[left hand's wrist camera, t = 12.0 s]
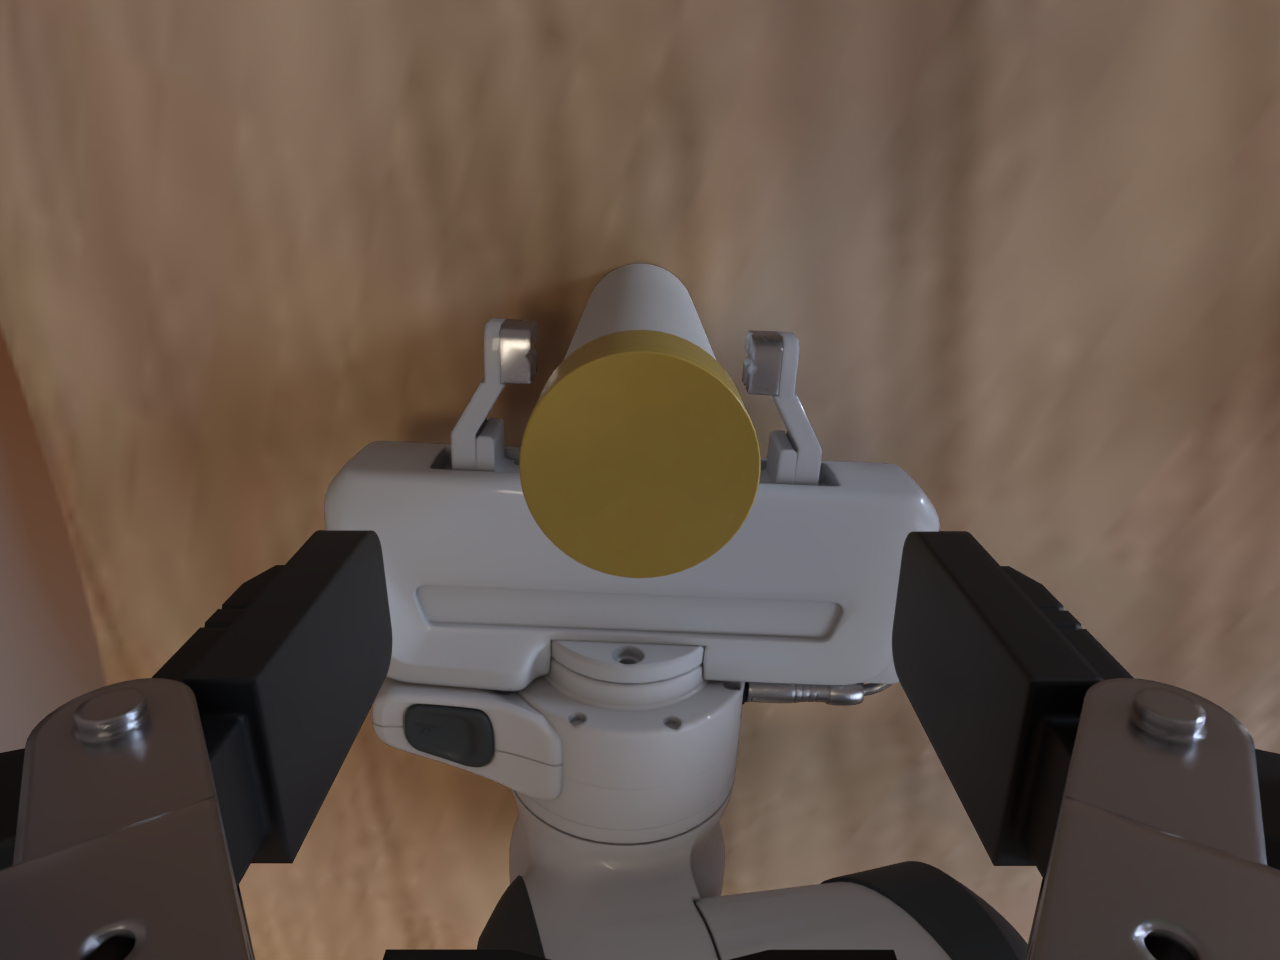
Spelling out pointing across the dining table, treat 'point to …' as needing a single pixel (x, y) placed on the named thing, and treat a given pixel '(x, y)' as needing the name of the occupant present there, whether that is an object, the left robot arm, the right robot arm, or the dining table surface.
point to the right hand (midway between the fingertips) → (642, 327)
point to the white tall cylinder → (639, 307)
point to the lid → (639, 455)
